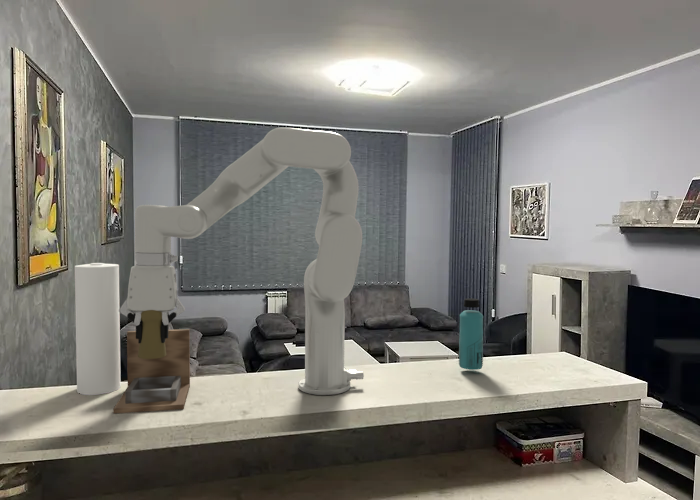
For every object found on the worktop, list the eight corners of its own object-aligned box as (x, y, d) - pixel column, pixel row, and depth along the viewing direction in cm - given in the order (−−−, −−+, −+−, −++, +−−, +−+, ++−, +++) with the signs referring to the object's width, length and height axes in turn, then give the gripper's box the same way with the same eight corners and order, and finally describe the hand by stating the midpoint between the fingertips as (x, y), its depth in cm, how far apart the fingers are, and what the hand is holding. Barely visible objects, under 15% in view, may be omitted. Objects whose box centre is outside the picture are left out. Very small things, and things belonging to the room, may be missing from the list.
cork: (161, 359, 116) (161, 309, 115) (133, 358, 116) (133, 308, 115) (170, 352, 122) (170, 305, 121) (143, 351, 122) (143, 304, 121)
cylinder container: (82, 397, 120) (80, 265, 118) (72, 387, 127) (70, 262, 125) (125, 389, 126) (124, 263, 124) (114, 380, 133) (112, 261, 131)
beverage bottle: (478, 376, 139) (480, 301, 137) (454, 372, 142) (455, 299, 141) (486, 371, 144) (487, 298, 143) (462, 367, 148) (464, 296, 146)
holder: (189, 386, 129) (189, 329, 128) (183, 409, 113) (183, 344, 112) (128, 389, 126) (127, 331, 125) (113, 413, 110) (112, 347, 109)
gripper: (193, 259, 123) (192, 337, 124) (116, 258, 120) (115, 339, 120) (190, 262, 116) (189, 344, 117) (108, 261, 112) (108, 346, 113)
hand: (152, 341), depth 119 cm, fingers closed on cork, 4 cm apart
